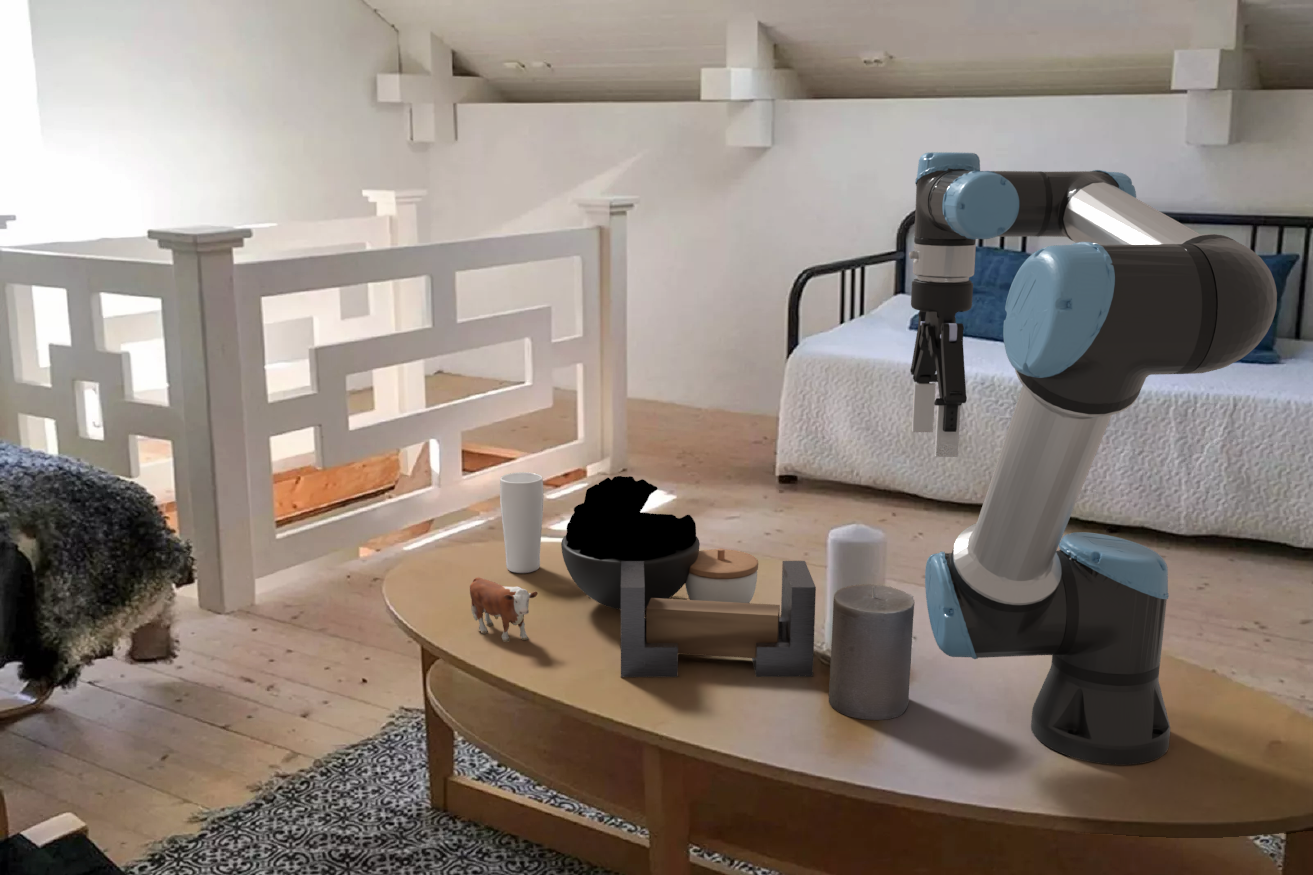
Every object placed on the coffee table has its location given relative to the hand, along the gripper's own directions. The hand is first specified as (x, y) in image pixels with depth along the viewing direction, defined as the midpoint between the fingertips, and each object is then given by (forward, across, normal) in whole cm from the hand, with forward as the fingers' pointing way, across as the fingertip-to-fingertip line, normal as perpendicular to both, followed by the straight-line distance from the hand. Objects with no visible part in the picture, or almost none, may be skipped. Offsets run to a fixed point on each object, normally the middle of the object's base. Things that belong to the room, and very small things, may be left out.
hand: (933, 443), depth 170 cm
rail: (+27, +2, -28) cm, 39 cm away
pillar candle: (+29, +16, -10) cm, 35 cm away
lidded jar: (+29, -16, -26) cm, 42 cm away
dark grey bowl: (+29, -18, -39) cm, 52 cm away
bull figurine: (+29, -6, -56) cm, 64 cm away
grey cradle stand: (+29, +2, -28) cm, 40 cm away
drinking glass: (+29, -35, -56) cm, 72 cm away
